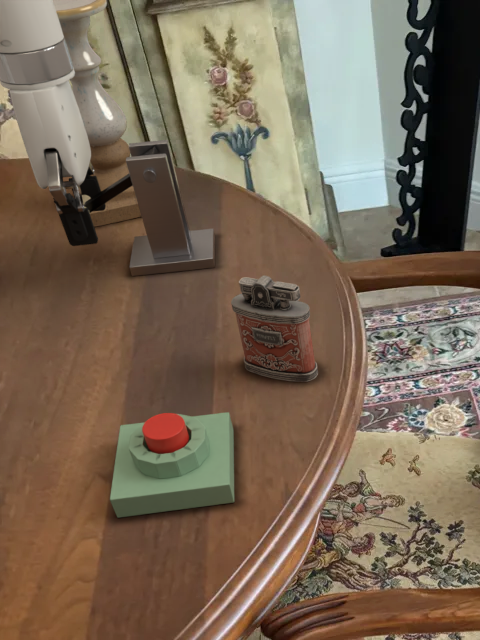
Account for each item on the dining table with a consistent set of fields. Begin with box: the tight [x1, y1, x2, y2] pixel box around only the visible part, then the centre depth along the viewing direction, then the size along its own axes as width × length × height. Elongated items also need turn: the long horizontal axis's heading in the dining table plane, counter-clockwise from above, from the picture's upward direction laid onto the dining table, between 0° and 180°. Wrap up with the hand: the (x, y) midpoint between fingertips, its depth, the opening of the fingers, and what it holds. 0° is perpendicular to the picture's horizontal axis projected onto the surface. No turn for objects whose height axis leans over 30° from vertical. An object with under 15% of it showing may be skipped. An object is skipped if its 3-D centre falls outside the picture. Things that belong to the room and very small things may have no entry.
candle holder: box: [53, 0, 142, 228], centre depth 100 cm, size 11×11×24 cm
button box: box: [109, 411, 235, 519], centre depth 69 cm, size 10×10×4 cm
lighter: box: [230, 274, 319, 383], centre depth 77 cm, size 8×3×10 cm, turn 70°
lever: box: [82, 147, 160, 213], centre depth 91 cm, size 12×5×2 cm, turn 99°
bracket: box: [126, 139, 216, 277], centre depth 93 cm, size 10×8×13 cm
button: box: [142, 412, 189, 454], centre depth 68 cm, size 4×4×2 cm
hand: (88, 226), depth 94 cm, fingers open, 8 cm apart
